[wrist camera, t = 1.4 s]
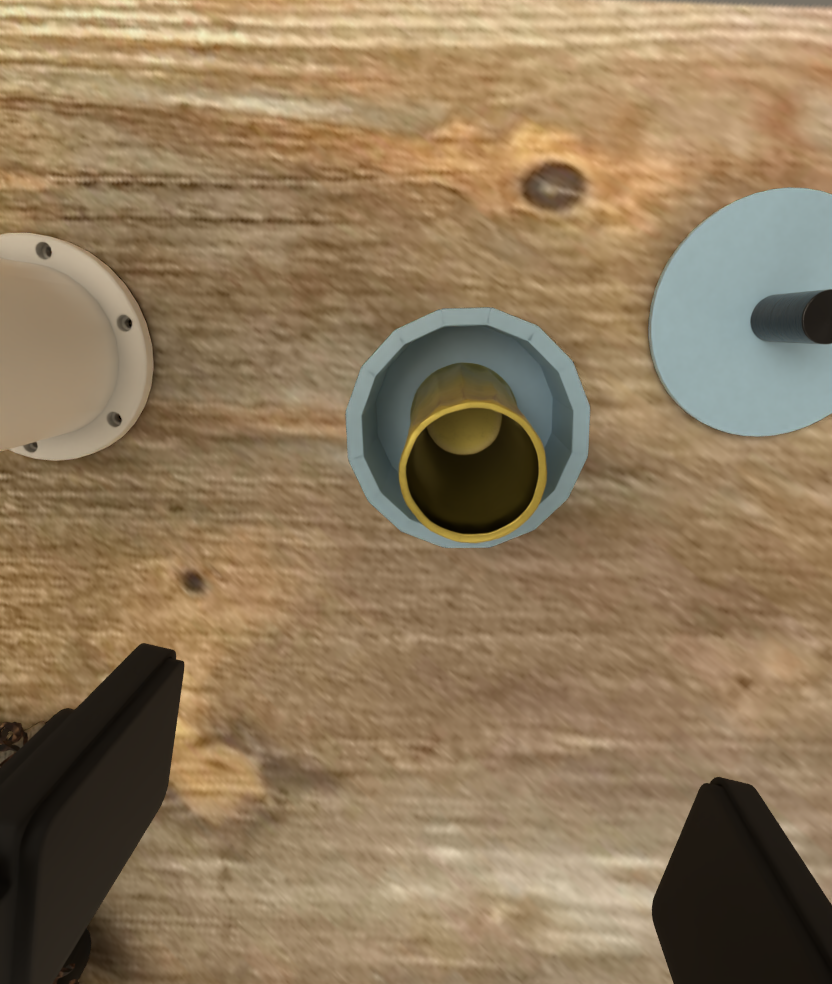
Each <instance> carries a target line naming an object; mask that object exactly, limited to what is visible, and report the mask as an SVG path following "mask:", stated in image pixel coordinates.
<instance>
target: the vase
mask: <svg viewBox="0 0 832 984" xmlns="http://www.w3.org/2000/svg"><path fill="white" fill-rule="evenodd" d="M410 421H411V422H410V427H409V430H408V436H407V440H406V443H405V446H404V449H403V452H402V455H401V458H400V462H399V483H400V488H401V492H402V495H403V498H404V500H405V502H406V504H407V506H408V507H409V509H410V510H411V511H412V513H413V514H414V515H415V516H416V518H417V519H418V520H419V521H420V522H421V523H422V524H423V525H424V526H425V527H426V528H427V529H429V530H430V531H432V532H434V533H436V534H438V535H440V536H442V537H445V538H447V539H450V540H453V541H456V542H463V543H481V542H486V541H491V540H495V539H499V538H501V537H504V536H506V535H508V534H510V533H511V532H513V531H515V530H516V529H517V528H519V527H520V526H521V525H523V524H524V523H525V522H526V521H527V520H528V519H529V518H530V517H531V516H532V515H533V513H534V512H535V511H536V509H537V508H538V506H539V504H540V501H541V499H542V496H543V493H544V490H545V486H546V482H547V464H546V456H545V450H544V446H543V443H542V441H541V439H540V438H539V436H538V435H537V433H536V432H535V430H534V429H533V427H532V426H531V424H530V423H529V422H528V420H527V419H526V417H525V416H524V415H523V414H522V413H521V411H520V410H519V409H518V407H517V403H516V399H515V397H514V394H513V392H512V390H511V388H510V386H509V385H508V384H507V383H506V381H505V380H504V379H503V378H502V377H501V376H499V375H498V374H497V373H496V372H494V371H493V370H491V369H489V368H487V367H485V366H482V365H479V364H474V363H464V362H461V363H455V364H451V365H448V366H445V367H443V368H441V369H438V370H436V371H435V372H433V373H432V374H431V375H429V376H428V377H427V378H426V379H425V380H424V381H423V382H422V384H421V385H420V386H419V388H418V389H417V391H416V393H415V396H414V399H413V402H412V406H411V410H410Z"/></svg>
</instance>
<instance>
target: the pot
mask: <svg viewBox="0 0 832 984" xmlns="http://www.w3.org/2000/svg"><path fill="white" fill-rule="evenodd" d="M461 362H464V363H474V364H479V365H482V366H485V367H487V368H489V369H491V370H493V371H494V372H496V373H497V374H498V375H499V376H501V377H502V378H503V379H504V380H505V381H506V383H507V384H508V385H509V386H510V388H511V390H512V392H513V394H514V397H515V399H516V403H517V407H518V409H519V410H520V411H521V413H522V414H523V415H524V416H525V417H526V419H527V420H528V422H529V423H530V424H531V426H532V427H533V429H534V430H535V432H536V433H537V435H538V436H539V438H540V439H541V441H542V443H543V446H544V450H545V456H546V464H547V482H546V486H545V490H544V493H543V496H542V499H541V501H540V504H539V506H538V508H537V509H536V511H535V512H534V513H533V515H532V516H531V517H530V518H529V519H528V520H527V521H526V522H525V523H524V524H523V525H521V526H520V527H519V528H517V529H516V530H515V531H513V532H511V533H510V534H508V535H506V536H504V537H501V538H499V539H495V540H491V541H486V542H481V543H463V542H456V541H453V540H450V539H447V538H445V537H442V536H440V535H438V534H436V533H434V532H432V531H430V530H429V529H427V528H426V527H425V526H424V525H423V524H422V523H421V522H420V521H419V520H418V519H417V518H416V516H415V515H414V514H413V513H412V511H411V510H410V509H409V507H408V506H407V504H406V502H405V500H404V498H403V495H402V492H401V488H400V483H399V462H400V458H401V455H402V452H403V449H404V446H405V443H406V440H407V436H408V430H409V427H410V422H411V421H410V410H411V406H412V402H413V399H414V396H415V393H416V391H417V389H418V388H419V386H420V385H421V384H422V382H423V381H424V380H425V379H426V378H427V377H428V376H429V375H431V374H432V373H433V372H435V371H436V370H438V369H441V368H443V367H445V366H448V365H451V364H455V363H461ZM589 407H590V405H589V403H588V400H587V397H586V395H585V392H584V389H583V387H582V384H581V381H580V379H579V376H578V373H577V371H576V368H575V365H574V363H573V361H572V360H571V359H570V358H569V357H568V356H567V355H566V354H565V353H564V352H563V351H562V350H561V349H560V348H559V347H558V346H557V345H556V344H555V343H554V342H553V341H552V339H551V338H550V337H549V336H548V335H547V334H546V333H545V332H544V331H543V330H542V329H541V328H540V327H538V326H537V325H535V324H532V323H530V322H527V321H525V320H522V319H520V318H517V317H515V316H512V315H510V314H507V313H505V312H502V311H500V310H497V309H495V308H490V307H480V308H446V309H441V310H440V309H439V310H437V311H434V312H432V313H430V314H428V315H426V316H424V317H421V318H419V319H417V320H415V321H413V322H411V323H409V324H406V325H404V326H402V327H400V328H398V329H396V330H395V331H393V332H392V333H391V335H390V336H389V337H388V338H387V339H386V340H385V341H384V342H383V343H382V344H381V346H380V347H379V348H378V349H377V350H376V351H375V352H374V353H373V354H372V356H371V357H370V358H369V359H368V360H367V361H366V362H365V363H364V364H363V365H362V367H361V369H360V372H359V375H358V378H357V381H356V383H355V386H354V389H353V392H352V395H351V398H350V400H349V403H348V406H347V409H346V414H345V415H346V432H347V450H348V459H349V463H350V465H351V467H352V469H353V471H354V473H355V475H356V477H357V479H358V481H359V483H360V485H361V488H362V490H363V492H364V494H365V496H366V498H367V500H368V501H369V503H371V504H372V505H373V506H374V507H375V508H376V509H377V510H378V511H379V512H380V513H382V514H383V515H384V516H385V517H386V518H387V519H388V520H389V521H390V522H391V523H392V524H394V525H395V526H396V527H397V528H398V529H399V530H400V531H402V532H404V533H406V534H409V535H412V536H414V537H417V538H419V539H422V540H425V541H427V542H430V543H433V544H435V545H438V546H441V547H445V548H489V547H493V546H495V545H498V544H500V543H503V542H505V541H508V540H510V539H513V538H515V537H518V536H521V535H523V534H526V533H528V532H531V531H532V530H535V529H536V528H537V527H538V526H539V525H540V524H541V523H542V522H543V521H544V520H545V519H547V518H548V517H549V516H550V515H551V514H552V513H553V512H554V511H555V510H556V509H557V508H558V507H559V506H561V505H562V504H563V503H564V502H565V501H566V500H567V498H568V497H569V495H570V493H571V491H572V489H573V487H574V485H575V483H576V480H577V478H578V476H579V474H580V472H581V470H582V468H583V466H584V463H585V461H586V459H587V457H588V456H587V455H588V447H589V425H590V408H589Z"/></svg>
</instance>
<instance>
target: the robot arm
mask: <svg viewBox="0 0 832 984" xmlns="http://www.w3.org/2000/svg"><path fill="white" fill-rule="evenodd" d="M50 251H52V254H51V253H50ZM130 319H131V321H132V327H130V326H129V323H128V322H129V320H130ZM153 369H154V364H153V349H152V343H151V339H150V335H149V331H148V327H147V323H146V321H145V319H144V317H143V314H142V312H141V310H140V307H139V305H138V303H137V302H136V300H135V299H134V297H133V295H132V294H131V292H130V291H129V289H128V288H127V286H126V285H125V284H124V282H123V281H122V280H121V279H120V278H119V277H118V276H117V275H116V274H115V273H114V272H113V271H112V270H111V268H110V267H108V266H107V265H106V264H105V263H103V262H102V261H101V260H99V259H98V258H97V257H95V256H94V255H93V254H91V253H90V252H88V251H86V250H84V249H82V248H80V247H78V246H76V245H74V244H72V243H70V242H67V241H63V240H60V239H57V238H53V237H50V236H45V235H39V234H34V233H6V234H2V235H0V452H1V451H4V450H10V451H12V452H14V453H17V454H21V455H24V456H27V457H31V458H34V459H42V460H52V461H59V460H70V459H76V458H80V457H83V456H86V455H90V454H93V453H95V452H97V451H100V450H102V449H104V448H107V447H109V446H110V445H112V444H113V443H114V442H116V441H117V440H119V439H120V438H121V437H123V436H124V435H125V434H126V433H127V432H128V430H129V429H130V428H131V427H132V426H133V425H134V424H135V423H136V421H137V419H138V418H139V416H140V414H141V412H142V411H143V409H144V407H145V405H146V402H147V399H148V396H149V393H150V390H151V385H152V377H153ZM118 415H120V416H121V420H122V421H121V420H120V419H119V417H118ZM183 674H184V662H183V661H180V660H176V652H175V651H174V650H171V649H167V648H163V647H158V646H154V645H150V644H145V643H142V644H140V645H139V646H138V647H137V648H136V649H135V650H134V651H133V652H132V653H131V654H130V655H129V656H128V657H127V658H126V659H125V660H124V661H123V662H122V663H121V664H120V665H119V666H118V667H117V668H116V669H115V670H114V671H113V672H112V673H111V674H110V675H109V676H108V677H107V678H106V679H105V680H104V681H103V682H102V683H101V684H100V685H99V686H98V687H97V688H96V689H95V690H94V691H93V692H92V693H91V694H90V695H89V696H88V697H87V698H86V699H85V700H84V701H83V702H82V703H81V704H80V705H79V706H78V707H77V708H76V709H75V710H73V709H69V708H67V709H63V710H61V711H59V712H58V713H57V714H56V715H54V716H53V717H52V718H51V719H50V720H49V721H48V722H47V723H46V724H45V725H44V726H43V727H42V728H41V729H40V730H39V731H38V732H37V733H36V734H35V735H34V736H33V737H32V738H30V739H29V740H28V741H27V742H26V743H25V744H24V745H23V746H22V747H21V748H20V749H19V750H18V751H17V752H16V753H15V754H14V755H13V756H12V757H11V758H10V759H9V760H8V761H7V762H6V763H5V764H4V765H3V766H2V767H1V768H0V984H52V983H53V982H54V980H55V978H56V977H57V975H58V973H59V972H60V970H61V969H62V967H63V965H64V964H65V962H66V960H67V959H68V957H69V955H70V954H71V952H72V951H73V949H74V947H75V946H76V944H77V942H78V941H79V939H80V937H81V936H82V934H83V933H84V931H85V929H86V928H87V926H88V924H89V923H90V921H91V919H92V918H93V916H94V915H95V913H96V911H97V910H98V908H99V906H100V905H101V903H102V902H103V900H104V898H105V897H106V895H107V893H108V892H109V890H110V888H111V887H112V885H113V884H114V882H115V880H116V879H117V877H118V875H119V874H120V872H121V870H122V869H123V867H124V866H125V864H126V862H127V861H128V859H129V857H130V856H131V854H132V852H133V851H134V849H135V848H136V846H137V844H138V843H139V841H140V839H141V838H142V836H143V834H144V833H145V831H146V830H147V828H148V826H149V825H150V823H151V821H152V820H153V818H154V817H155V815H156V813H157V812H158V810H159V808H160V806H161V804H162V802H163V800H164V797H165V794H166V791H167V787H168V782H169V774H170V767H171V760H172V753H173V746H174V738H175V731H176V724H177V717H178V710H179V702H180V695H181V688H182V681H183ZM652 918H653V923H654V926H655V929H656V932H657V935H658V938H659V941H660V944H661V947H662V950H663V953H664V956H665V959H666V962H667V965H668V968H669V971H670V974H671V977H672V980H673V983H674V984H832V905H831V903H830V902H829V900H828V899H827V897H826V896H825V894H824V893H823V891H822V890H821V888H820V886H819V885H818V883H817V882H816V880H815V879H814V877H813V876H812V874H811V873H810V871H809V870H808V868H807V867H806V865H805V864H804V862H803V860H802V859H801V857H800V856H799V854H798V853H797V851H796V850H795V848H794V847H793V845H792V844H791V842H790V841H789V839H788V838H787V836H786V835H785V833H784V831H783V830H782V828H781V827H780V825H779V824H778V822H777V821H776V819H775V818H774V816H773V815H772V813H771V812H770V810H769V809H768V807H767V805H766V804H765V802H764V801H763V799H762V798H761V796H760V795H759V793H758V792H757V790H756V789H755V788H754V787H753V786H752V785H749V784H746V783H742V782H738V781H733V780H729V779H725V778H721V777H716V778H714V779H713V780H712V781H711V782H710V784H708V783H705V784H703V785H702V786H701V787H700V789H699V791H698V794H697V796H696V798H695V801H694V803H693V806H692V808H691V810H690V813H689V815H688V817H687V820H686V822H685V825H684V827H683V829H682V832H681V834H680V837H679V839H678V841H677V844H676V846H675V848H674V851H673V853H672V856H671V858H670V860H669V863H668V865H667V867H666V870H665V872H664V875H663V877H662V879H661V882H660V884H659V886H658V889H657V891H656V894H655V896H654V899H653V904H652Z"/></svg>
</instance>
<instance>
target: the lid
mask: <svg viewBox="0 0 832 984" xmlns="http://www.w3.org/2000/svg"><path fill="white" fill-rule="evenodd" d="M649 344H650V352H651V356H652V360H653V363H654V367H655V370H656V372H657V374H658V377H659V379H660V381H661V383H662V384H663V386H664V388H665V389H666V391H667V393H668V394H669V395H670V396H671V397H672V399H673V400H674V401H675V402H676V404H677V405H679V406H680V407H681V408H682V409H683V410H684V411H685V412H686V413H687V414H689V415H690V416H692V417H693V418H695V419H696V420H698V421H699V422H701V423H703V424H706V425H708V426H710V427H712V428H714V429H717V430H720V431H723V432H727V433H730V434H736V435H741V436H757V437H760V436H773V435H779V434H783V433H788V432H792V431H795V430H798V429H801V428H804V427H807V426H809V425H811V424H813V423H815V422H817V421H820V420H821V419H823V418H825V417H826V416H828V415H830V414H831V413H832V194H829V193H826V192H823V191H819V190H813V189H807V188H780V189H771V190H767V191H763V192H759V193H755V194H752V195H749V196H747V197H744V198H742V199H739V200H737V201H734V202H732V203H731V204H729V205H727V206H725V207H723V208H721V209H719V210H718V211H716V212H715V213H713V214H712V215H711V216H709V217H708V218H706V219H705V220H704V221H702V222H701V223H700V224H699V225H698V226H697V227H696V228H695V229H693V230H692V231H691V232H690V233H689V235H688V236H687V237H686V238H685V239H684V240H683V241H682V242H681V244H680V245H679V246H678V247H677V249H676V250H675V252H674V253H673V255H672V256H671V257H670V259H669V261H668V262H667V264H666V266H665V268H664V270H663V272H662V274H661V276H660V278H659V281H658V283H657V286H656V289H655V292H654V296H653V299H652V303H651V308H650V316H649Z"/></svg>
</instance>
